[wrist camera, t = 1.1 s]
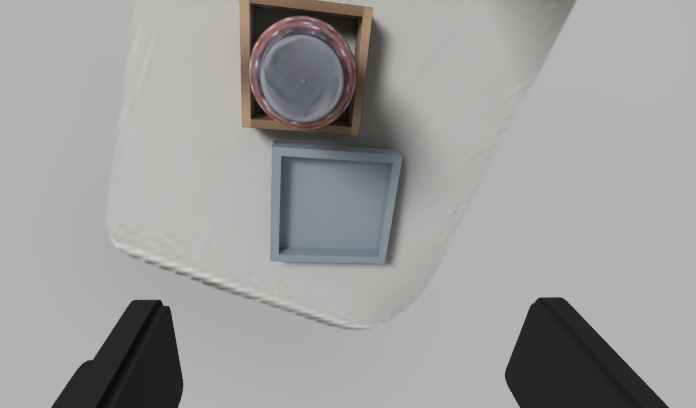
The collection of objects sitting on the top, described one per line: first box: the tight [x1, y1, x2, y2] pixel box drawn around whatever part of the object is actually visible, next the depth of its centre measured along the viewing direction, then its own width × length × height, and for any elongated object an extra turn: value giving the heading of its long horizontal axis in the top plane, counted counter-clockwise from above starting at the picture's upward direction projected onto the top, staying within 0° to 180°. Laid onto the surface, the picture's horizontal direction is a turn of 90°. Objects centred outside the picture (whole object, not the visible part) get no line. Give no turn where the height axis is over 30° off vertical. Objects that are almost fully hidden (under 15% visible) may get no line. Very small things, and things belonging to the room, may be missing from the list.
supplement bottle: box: [249, 16, 357, 130], centre depth 22 cm, size 6×6×11 cm
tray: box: [270, 141, 403, 264], centre depth 31 cm, size 10×10×2 cm
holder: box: [240, 0, 373, 136], centre depth 26 cm, size 9×9×2 cm
